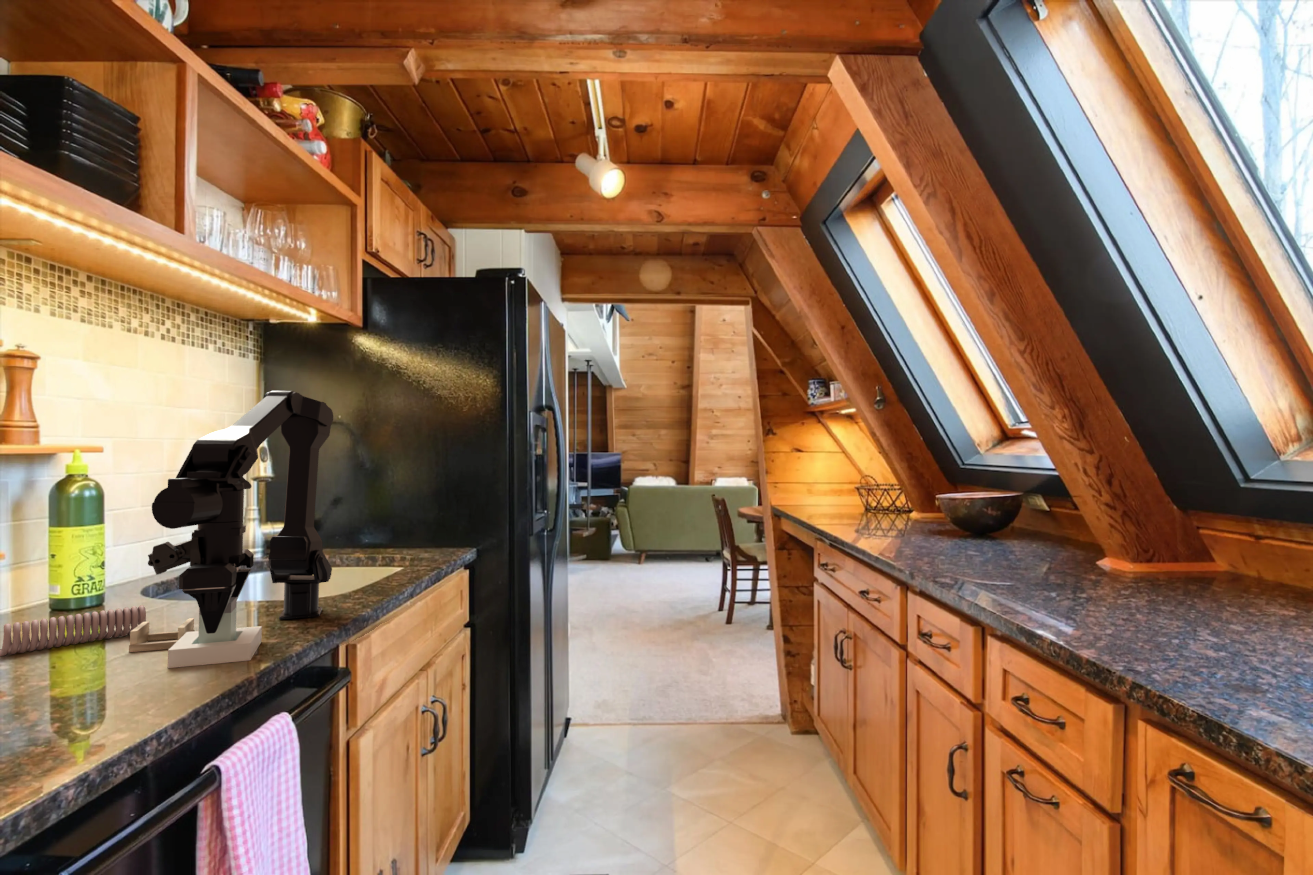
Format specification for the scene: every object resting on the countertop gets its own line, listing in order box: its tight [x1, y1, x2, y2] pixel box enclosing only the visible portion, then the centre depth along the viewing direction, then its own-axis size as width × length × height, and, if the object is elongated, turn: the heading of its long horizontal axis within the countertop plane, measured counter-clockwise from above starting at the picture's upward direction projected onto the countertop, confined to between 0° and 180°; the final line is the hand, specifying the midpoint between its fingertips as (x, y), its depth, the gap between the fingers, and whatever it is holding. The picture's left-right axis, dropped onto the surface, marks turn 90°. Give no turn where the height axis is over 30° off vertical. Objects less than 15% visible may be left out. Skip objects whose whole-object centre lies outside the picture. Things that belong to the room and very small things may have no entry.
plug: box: [198, 597, 238, 644], centre depth 100 cm, size 4×4×8 cm
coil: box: [0, 604, 147, 657], centre depth 105 cm, size 5×5×18 cm
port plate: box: [167, 625, 263, 669], centre depth 100 cm, size 10×10×2 cm
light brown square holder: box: [128, 617, 195, 653], centre depth 104 cm, size 7×7×3 cm
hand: (218, 625), depth 100 cm, fingers open, 9 cm apart
